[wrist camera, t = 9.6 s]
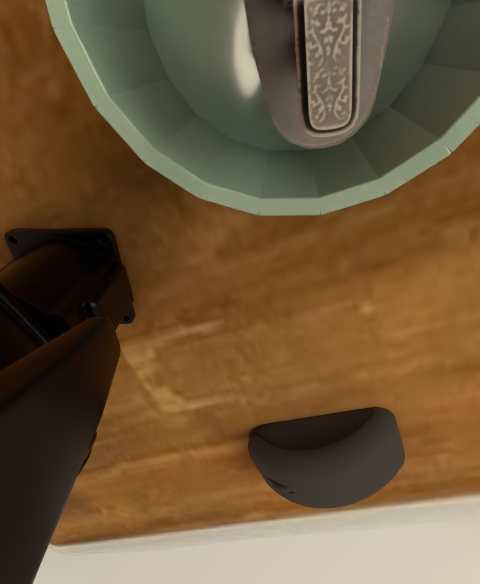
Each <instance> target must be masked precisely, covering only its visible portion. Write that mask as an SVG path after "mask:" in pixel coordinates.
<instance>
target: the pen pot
mask: <svg viewBox="0 0 480 584" xmlns="http://www.w3.org/2000/svg"><path fill="white" fill-rule="evenodd" d="M45 2H46V6H47V10H48V13H49V17H50V21H51V24H52V27H53V29H54V33H55V34H56V36H57V38H58V40H59V42H60V44H61V46H62V48H63V50H64V51H65V53H66V55H67V57H68V59H69V61H70V63H71V65H72V67H73V68H74V70H75V72H76V74H77V76H78V78H79V80H80V82H81V84H82V85H83V87H84V89H85V91H86V93H87V95H88V97H89V99H90V101H91V102H92V104H93V106H94V107H95V108H96V110H97V111H98V112H99V113H100V114H101V115H102V116H103V118H104V119H105V120H106V121H107V122H108V123H109V124H110V125H111V126H112V128H113V129H114V130H115V131H116V132H117V133H118V134H119V135H120V137H121V138H122V139H123V140H124V141H125V142H126V143H127V144H128V146H129V147H130V148H131V149H132V150H133V151H134V152H135V153H136V155H137V156H138V157H139V158H140V159H141V160H142V161H143V162H144V163H145V164H146V165H148V166H149V167H151V168H152V169H154V170H155V171H157V172H158V173H160V174H162V175H163V176H165V177H166V178H168V179H169V180H171V181H172V182H174V183H175V184H177V185H179V186H180V187H182V188H183V189H185V190H186V191H188V192H189V193H191V194H192V195H194V196H195V197H197V198H199V197H200V199H203V200H206V201H210V202H213V203H216V204H220V205H223V206H227V207H230V208H233V209H237V210H240V211H243V212H247V213H250V214H254V215H259V216H283V215H320V214H321V215H323V214H326V213H329V212H333V211H336V210H339V209H342V208H346V207H349V206H352V205H355V204H359V203H362V202H365V201H368V200H372V199H375V198H378V197H381V196H384V195H386V194H388V193H390V192H391V191H393V190H395V189H396V188H398V187H399V186H401V185H402V184H404V183H406V182H407V181H409V180H410V179H412V178H414V177H415V176H417V175H418V174H420V173H422V172H423V171H425V170H426V169H428V168H429V167H431V166H433V165H434V164H436V163H437V162H439V161H441V160H442V159H444V158H445V157H447V156H449V155H450V154H451V152H453V151H454V150H455V149H456V148H457V147H458V146H459V145H460V144H461V143H462V142H463V141H464V140H465V139H466V138H467V137H468V136H469V135H470V134H471V133H472V132H473V130H474V129H475V128H476V127H477V126H478V125H479V124H480V0H394V1H393V10H392V19H391V27H390V32H389V37H388V41H387V46H386V51H385V55H384V60H383V64H382V69H381V74H380V78H379V83H378V87H377V92H376V97H375V101H374V105H373V107H372V109H371V112H370V114H369V117H368V119H367V121H366V122H365V123H364V124H363V125H362V126H361V127H360V129H359V130H358V131H357V132H356V133H355V134H354V135H352V136H351V137H349V138H348V139H346V140H344V141H343V142H341V143H340V144H336V145H333V146H329V147H326V148H304V147H301V146H298V145H296V144H293V143H290V142H289V141H288V140H287V139H285V138H284V137H283V136H282V135H281V134H280V133H279V132H278V131H277V129H276V127H275V125H274V124H273V122H272V120H271V117H270V114H269V110H268V107H267V103H266V99H265V96H264V92H263V89H262V85H261V81H260V78H259V74H258V71H257V67H256V64H255V60H254V56H253V53H252V47H251V42H250V36H249V30H248V24H247V18H246V12H245V7H244V1H243V0H45Z"/></svg>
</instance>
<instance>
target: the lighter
mask: <svg viewBox="0 0 480 584" xmlns="http://www.w3.org/2000/svg"><path fill="white" fill-rule="evenodd" d="M243 1H244V7H245V12H246V18H247V24H248V30H249V36H250V42H251V47H252V53H253V56H254V60H255V64H256V67H257V71H258V74H259V78H260V81H261V85H262V89H263V92H264V96H265V99H266V103H267V107H268V110H269V114H270V117H271V120H272V122H273V124H274V125H275V127H276V129H277V131H278V132H279V133H280V134H281V135H282V136H283V137H284V138H285V139H287V140H288V141H289V142H290V143H293V144H296V145H298V146H301V147H304V148H326V147H329V146H333V145H336V144H340V143H341V142H343V141H344V140H346V139H348V138H349V137H351V136H352V135H354V134H355V133H356V132H357V131H358V130H359V129H360V127H361V126H362V125H363V124H364V123H365V122H366V121H367V119H368V117H369V114H370V112H371V109H372V107H373V105H374V101H375V97H376V92H377V87H378V83H379V78H380V74H381V69H382V64H383V60H384V55H385V51H386V46H387V41H388V37H389V32H390V27H391V19H392V10H393V1H394V0H243Z"/></svg>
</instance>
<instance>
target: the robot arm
mask: <svg viewBox="0 0 480 584" xmlns="http://www.w3.org/2000/svg"><path fill="white" fill-rule="evenodd" d="M102 235H103V236H105V237H107V239H108V241H107V240H104V239H103V237H102ZM13 236H14V237H16V238H17V240H18V241H17V240H16V239H15V238H14V237H13ZM5 240H6V242H7V245H8V247H9V249H10V251H11V254H12V256H13V258H14V259H13V260H12V261H11V262H9V263H8V264H7V265H6V266H4V267H3V268H2V269H0V584H33V581H34V579H35V576H36V574H37V571H38V569H39V567H40V564H41V562H42V559H43V557H44V555H45V552H46V550H47V547H48V545H49V543H50V540H51V538H52V535H53V533H54V531H55V528H56V526H57V523H58V521H59V518H60V516H61V514H62V511H63V509H64V506H65V504H66V502H67V499H68V497H69V494H70V492H71V490H72V487H73V485H74V482H75V480H76V477H77V475H78V474H79V473H80V471H81V470H82V468H83V467H84V465H85V464H86V462H87V460H88V458H89V456H90V453H91V450H92V447H93V444H94V442H95V440H96V436H97V432H96V429H97V427H98V424H99V422H100V419H101V417H102V414H103V411H104V408H105V404H106V401H107V398H108V394H109V391H110V387H111V384H112V380H113V377H114V374H115V370H116V367H117V363H118V360H119V356H120V344H119V341H118V338H117V335H116V332H115V330H116V328H117V327H118V325H119V324H130V323H132V322H133V320H134V318H135V312H134V308H133V304H132V302H133V300H134V299H133V295H132V291H131V287H130V283H129V280H128V276H127V272H126V268H125V266H124V265H123V264H122V262H121V259H120V255H119V251H118V247H117V243H116V239H115V236H114V234H113V233H112V232H111V231H110V230H108V229H105V228H82V229H12V230H10V231H9V232H7V233H6V234H5ZM125 315H127V316H128V317H126V316H125Z"/></svg>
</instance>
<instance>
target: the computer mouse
mask: <svg viewBox="0 0 480 584" xmlns="http://www.w3.org/2000/svg"><path fill="white" fill-rule="evenodd" d="M248 451H249V454H250V456H251V458H252V460H253V461H254V463H255V465H256V466H257V468H258V469H259V471H260V473H261V474H262V476H263V478H264V479H265V481H266V482H267V484H268V485H269V486H270V487H271V488H272V489H273V490H274V491H276V492H277V493H278V494H280V495H281V496H283V497H284V498H286V499H288V500H290V501H292V502H294V503H297V504H300V505H303V506H308V507H313V508H336V507H342V506H346V505H350V504H353V503H356V502H359V501H361V500H363V499H366V498H367V497H369V496H371V495H373V494H374V493H376V492H377V491H379V490H380V489H382V488H383V487H384V486H385V485H386V484H387V483H389V482H390V481H391V480H392V478H393V477H394V476H395V475H396V474H397V473H398V471H399V470H400V469H401V467H402V465H403V463H404V460H405V453H404V449H403V445H402V442H401V438H400V434H399V431H398V427H397V423H396V420H395V417H394V415H393V414H392V413H391V412H390V411H388V410H386V409H382V408H372V409H370V408H368V409H362V410H355V411H349V412H343V413H336V414H330V415H324V416H317V417H311V418H305V419H299V420H292V421H286V422H280V423H273V424H267V425H263V426H260V427H258V428H256V429H255V430H254V431H253V433H252V434H251V436H250V438H249V441H248Z"/></svg>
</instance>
